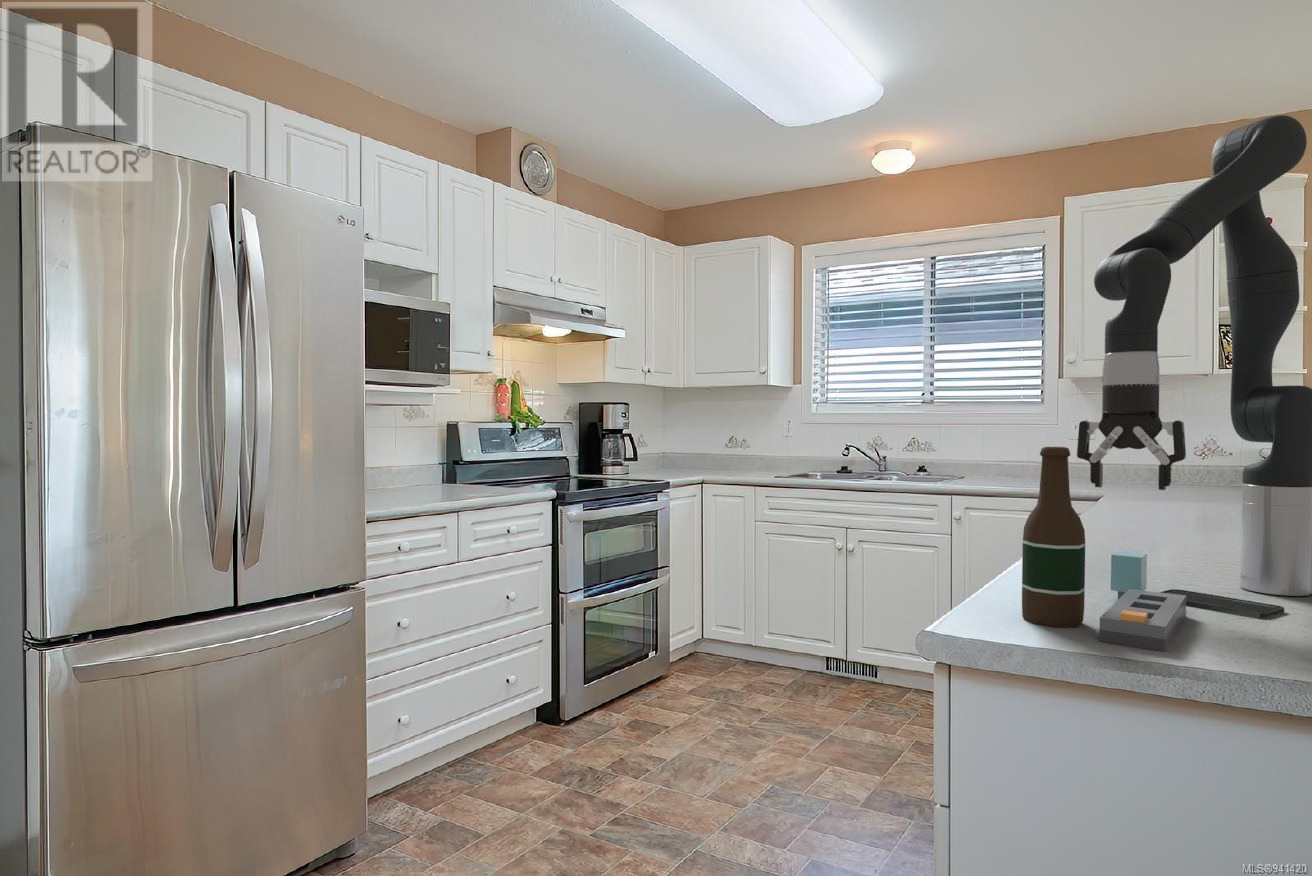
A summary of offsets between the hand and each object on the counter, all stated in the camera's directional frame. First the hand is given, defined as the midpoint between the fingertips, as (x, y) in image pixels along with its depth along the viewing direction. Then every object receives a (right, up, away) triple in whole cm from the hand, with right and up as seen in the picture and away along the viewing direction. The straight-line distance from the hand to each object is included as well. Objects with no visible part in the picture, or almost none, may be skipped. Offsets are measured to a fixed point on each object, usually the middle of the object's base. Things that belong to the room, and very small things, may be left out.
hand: (1129, 488), depth 124 cm
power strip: (-8, -18, -17) cm, 26 cm away
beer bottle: (-18, -18, -13) cm, 29 cm away
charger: (0, -17, 0) cm, 17 cm away
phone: (+11, -18, -3) cm, 21 cm away
